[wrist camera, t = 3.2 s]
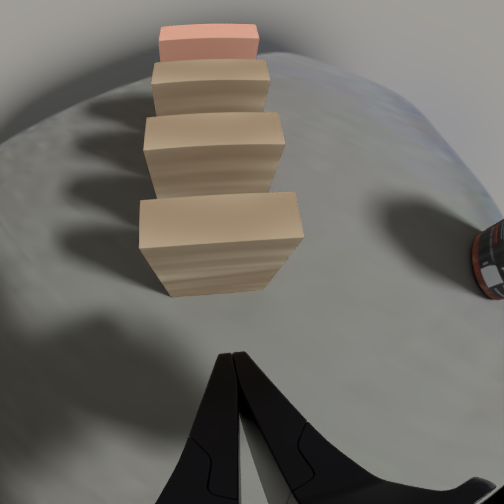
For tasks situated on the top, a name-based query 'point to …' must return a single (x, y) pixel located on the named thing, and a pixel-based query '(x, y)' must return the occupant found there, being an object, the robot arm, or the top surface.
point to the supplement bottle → (490, 260)
